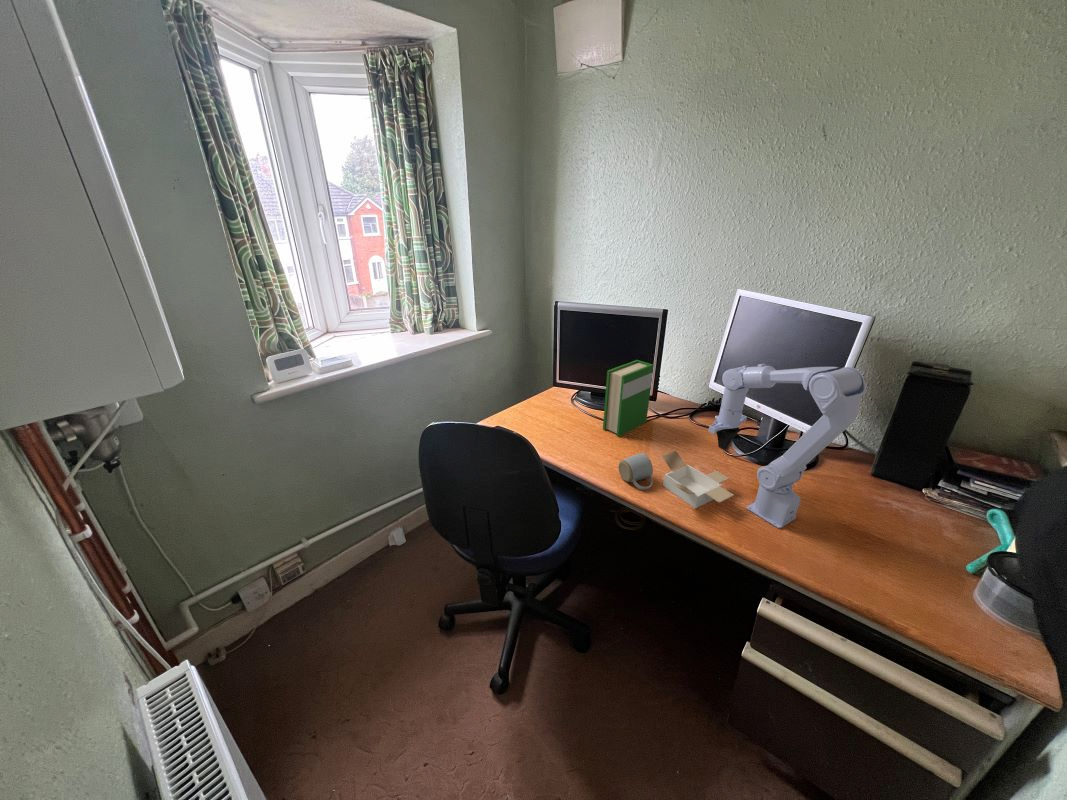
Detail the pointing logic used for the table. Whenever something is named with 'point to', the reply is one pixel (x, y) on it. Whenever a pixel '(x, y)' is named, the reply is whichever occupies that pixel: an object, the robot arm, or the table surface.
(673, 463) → the far flap
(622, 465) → the ceramic mug
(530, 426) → the table surface
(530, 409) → the table surface
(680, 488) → the left flap
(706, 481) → the carton
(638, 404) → the hardback book
